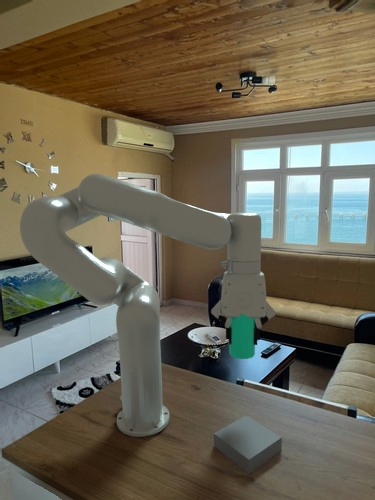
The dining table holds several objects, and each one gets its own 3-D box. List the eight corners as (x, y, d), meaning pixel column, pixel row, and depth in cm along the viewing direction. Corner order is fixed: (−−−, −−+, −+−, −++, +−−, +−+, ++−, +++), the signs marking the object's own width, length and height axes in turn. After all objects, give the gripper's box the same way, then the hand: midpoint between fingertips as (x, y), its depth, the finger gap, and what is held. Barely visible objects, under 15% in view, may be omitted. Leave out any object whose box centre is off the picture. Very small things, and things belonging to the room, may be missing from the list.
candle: (254, 360, 82) (255, 309, 80) (228, 357, 83) (228, 307, 81) (254, 349, 88) (255, 301, 86) (230, 347, 89) (230, 300, 87)
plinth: (214, 446, 77) (213, 433, 77) (246, 427, 83) (246, 415, 83) (249, 473, 69) (249, 459, 69) (281, 450, 76) (281, 437, 75)
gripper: (205, 270, 79) (205, 348, 82) (284, 270, 78) (282, 350, 81) (206, 263, 87) (207, 335, 89) (279, 264, 85) (276, 337, 88)
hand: (242, 341), depth 85 cm, fingers closed on candle, 5 cm apart
